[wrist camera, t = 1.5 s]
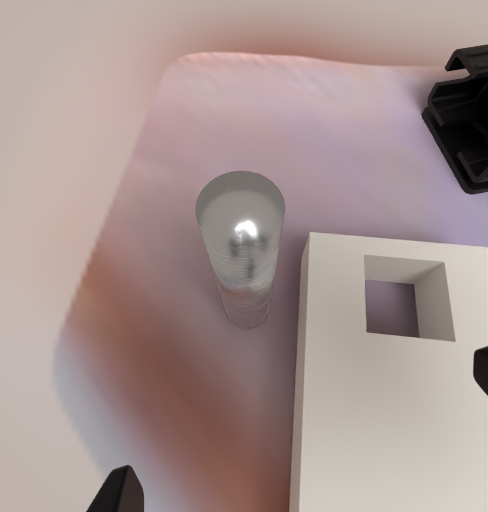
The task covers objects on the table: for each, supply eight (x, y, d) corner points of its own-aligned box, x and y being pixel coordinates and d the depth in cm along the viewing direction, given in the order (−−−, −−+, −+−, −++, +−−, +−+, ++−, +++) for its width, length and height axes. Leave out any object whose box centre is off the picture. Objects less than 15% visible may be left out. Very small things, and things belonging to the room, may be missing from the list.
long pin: (267, 331, 22) (281, 251, 10) (222, 326, 22) (188, 242, 11) (270, 288, 23) (287, 174, 12) (228, 283, 23) (203, 168, 12)
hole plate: (515, 621, 16) (593, 686, 12) (285, 584, 17) (294, 634, 13) (459, 272, 23) (498, 248, 19) (301, 258, 24) (309, 231, 20)
